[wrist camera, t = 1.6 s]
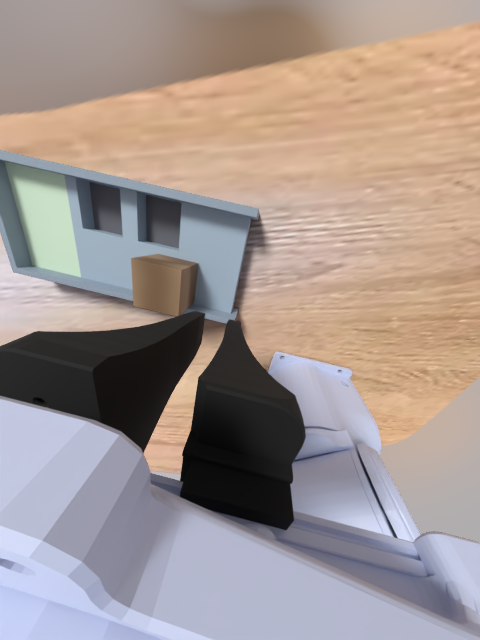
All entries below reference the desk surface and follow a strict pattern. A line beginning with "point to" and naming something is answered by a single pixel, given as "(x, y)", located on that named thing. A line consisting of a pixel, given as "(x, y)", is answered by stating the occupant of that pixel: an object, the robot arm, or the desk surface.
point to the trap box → (117, 231)
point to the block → (163, 283)
